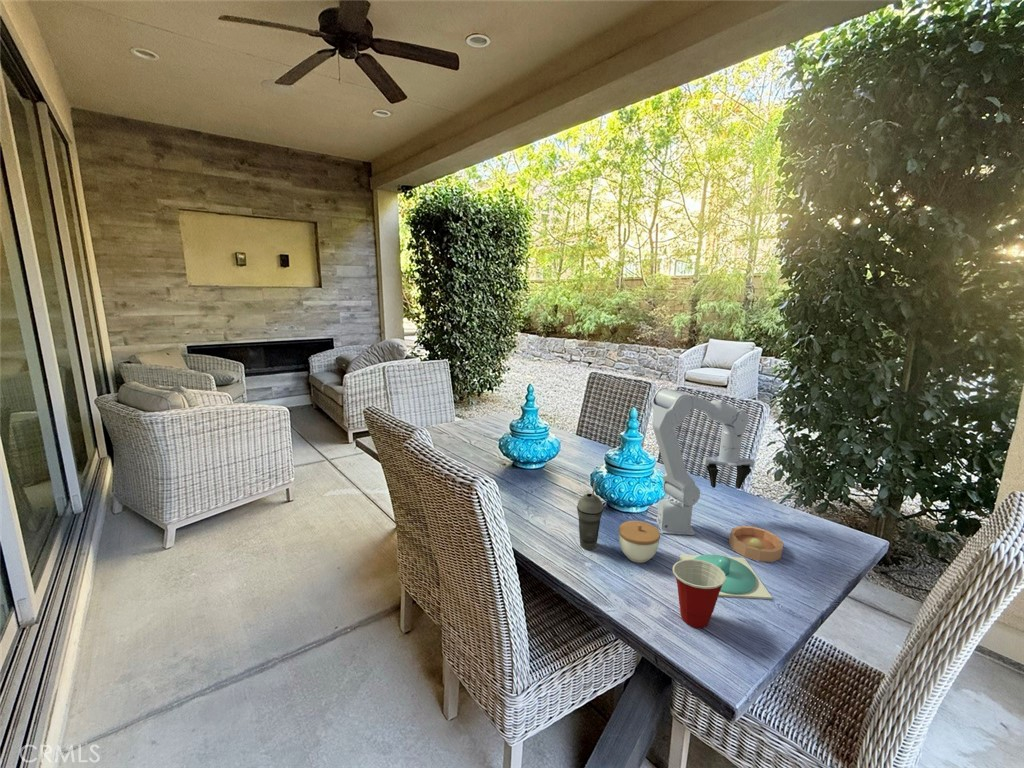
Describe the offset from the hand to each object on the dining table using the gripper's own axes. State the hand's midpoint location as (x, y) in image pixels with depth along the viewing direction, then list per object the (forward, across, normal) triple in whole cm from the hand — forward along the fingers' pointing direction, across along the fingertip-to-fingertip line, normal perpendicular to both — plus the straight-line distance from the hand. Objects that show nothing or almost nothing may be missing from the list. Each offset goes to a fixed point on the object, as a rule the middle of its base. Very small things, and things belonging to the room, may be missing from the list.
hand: (725, 486), depth 144 cm
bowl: (+10, +3, -17) cm, 20 cm away
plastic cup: (+11, -23, -47) cm, 53 cm away
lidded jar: (+11, -31, -24) cm, 41 cm away
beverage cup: (+11, -44, -20) cm, 49 cm away
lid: (+10, -11, -31) cm, 34 cm away
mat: (+10, -11, -31) cm, 34 cm away
